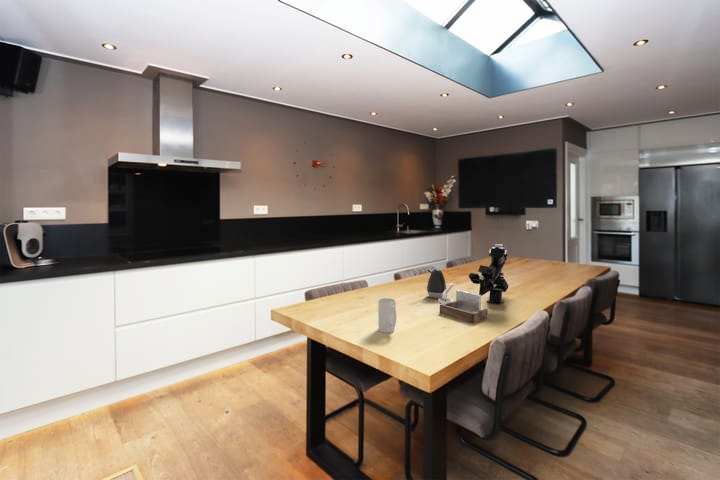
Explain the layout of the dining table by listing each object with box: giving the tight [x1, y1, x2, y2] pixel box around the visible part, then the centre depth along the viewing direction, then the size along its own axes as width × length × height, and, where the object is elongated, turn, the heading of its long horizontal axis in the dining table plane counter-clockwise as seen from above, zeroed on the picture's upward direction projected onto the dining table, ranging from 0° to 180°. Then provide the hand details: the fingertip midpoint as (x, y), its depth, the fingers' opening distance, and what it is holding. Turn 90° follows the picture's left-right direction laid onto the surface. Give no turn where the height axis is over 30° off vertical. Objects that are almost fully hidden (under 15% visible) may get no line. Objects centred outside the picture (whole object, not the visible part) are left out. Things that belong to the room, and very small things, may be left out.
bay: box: [439, 300, 489, 324], centre depth 165 cm, size 11×17×4 cm, turn 39°
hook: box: [437, 282, 455, 305], centre depth 186 cm, size 8×12×7 cm
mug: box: [377, 297, 398, 334], centre depth 144 cm, size 10×7×12 cm, turn 27°
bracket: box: [455, 289, 482, 313], centre depth 165 cm, size 8×12×10 cm
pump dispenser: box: [426, 268, 447, 300], centre depth 196 cm, size 10×10×15 cm
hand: (479, 295), depth 173 cm, fingers closed
